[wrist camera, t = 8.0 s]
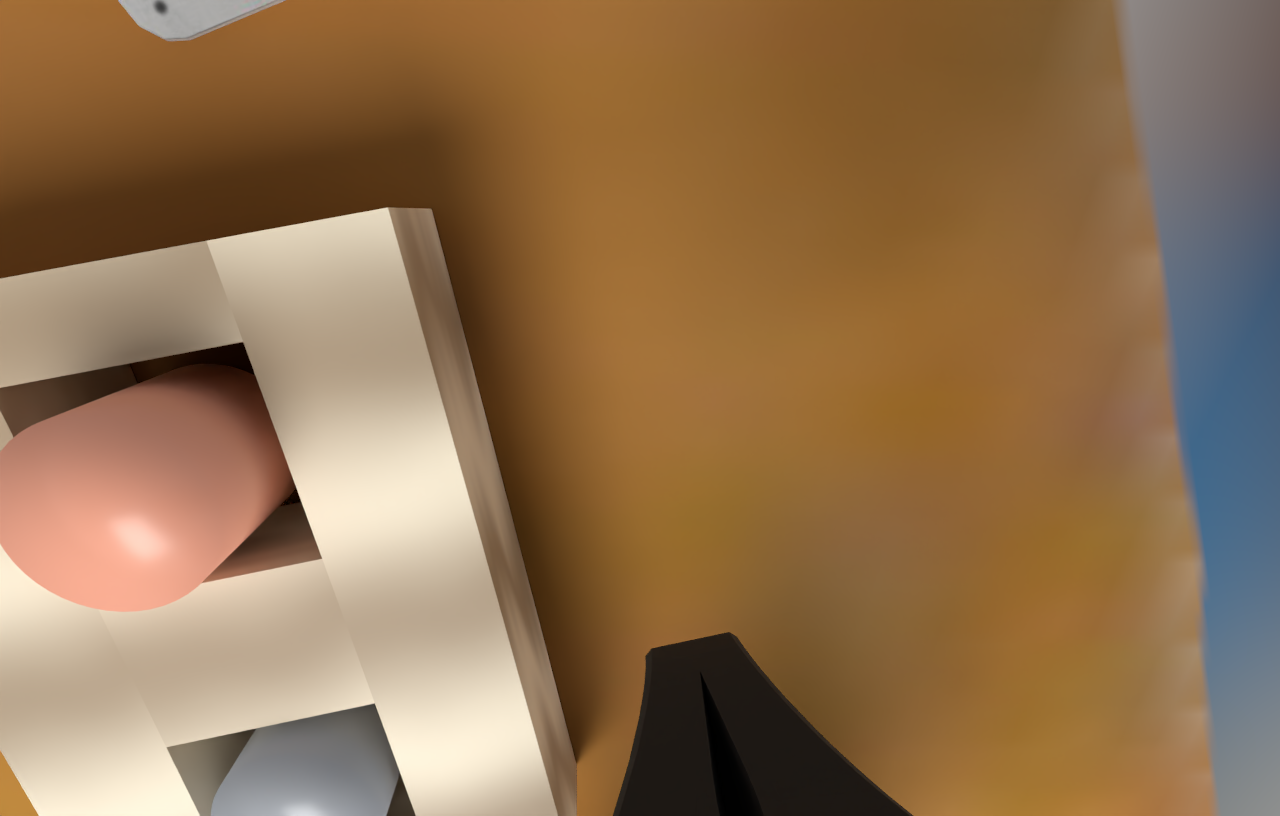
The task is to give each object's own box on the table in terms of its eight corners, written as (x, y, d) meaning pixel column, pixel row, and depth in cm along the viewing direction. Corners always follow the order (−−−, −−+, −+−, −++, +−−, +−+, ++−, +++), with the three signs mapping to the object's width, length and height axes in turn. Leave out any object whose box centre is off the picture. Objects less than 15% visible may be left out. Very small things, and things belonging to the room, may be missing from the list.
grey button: (434, 741, 21) (402, 861, 17) (307, 768, 20) (245, 896, 17) (398, 634, 19) (355, 737, 16) (262, 662, 19) (184, 774, 15)
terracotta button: (328, 502, 17) (254, 588, 13) (169, 533, 16) (45, 630, 13) (274, 348, 15) (175, 393, 12) (102, 381, 15) (-56, 437, 11)
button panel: (576, 765, 22) (576, 881, 18) (214, 843, 21) (136, 980, 18) (431, 208, 17) (387, 207, 13) (-54, 298, 16) (-250, 324, 12)
